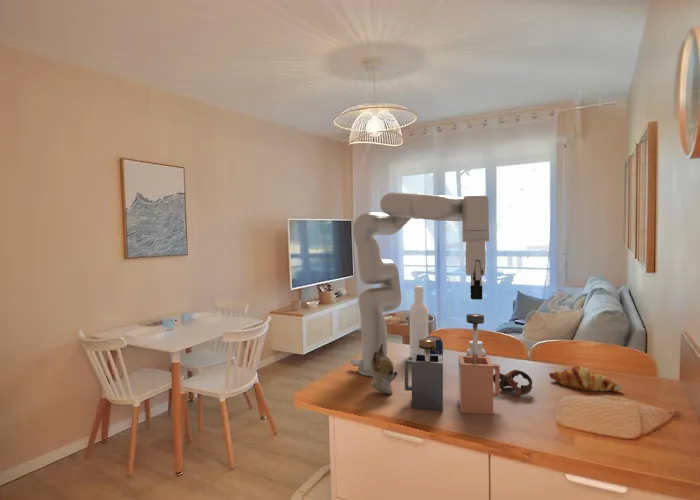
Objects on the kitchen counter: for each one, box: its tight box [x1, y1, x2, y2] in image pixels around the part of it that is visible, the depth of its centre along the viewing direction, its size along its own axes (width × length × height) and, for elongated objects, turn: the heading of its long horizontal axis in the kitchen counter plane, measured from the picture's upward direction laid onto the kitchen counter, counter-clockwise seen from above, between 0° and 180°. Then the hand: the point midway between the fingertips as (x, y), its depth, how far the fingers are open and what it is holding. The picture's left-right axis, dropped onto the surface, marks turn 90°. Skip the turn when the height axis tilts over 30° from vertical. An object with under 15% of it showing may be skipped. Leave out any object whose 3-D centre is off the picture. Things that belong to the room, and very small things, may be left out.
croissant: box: [548, 365, 622, 392], centre depth 139 cm, size 21×10×8 cm, turn 60°
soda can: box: [426, 335, 444, 360], centre depth 159 cm, size 7×7×12 cm
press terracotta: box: [458, 355, 501, 415], centre depth 123 cm, size 11×9×14 cm
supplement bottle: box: [466, 340, 487, 357], centre depth 149 cm, size 7×7×13 cm
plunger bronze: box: [419, 339, 436, 362], centre depth 126 cm, size 6×6×18 cm
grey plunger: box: [465, 313, 485, 364], centre depth 123 cm, size 6×6×18 cm
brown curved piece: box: [493, 369, 533, 399], centre depth 134 cm, size 12×10×8 cm
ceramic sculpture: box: [370, 344, 398, 395], centre depth 134 cm, size 11×9×15 cm
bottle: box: [409, 285, 429, 359], centre depth 174 cm, size 8×8×30 cm
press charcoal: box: [404, 354, 444, 412], centre depth 126 cm, size 11×9×14 cm
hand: (476, 299), depth 122 cm, fingers closed
